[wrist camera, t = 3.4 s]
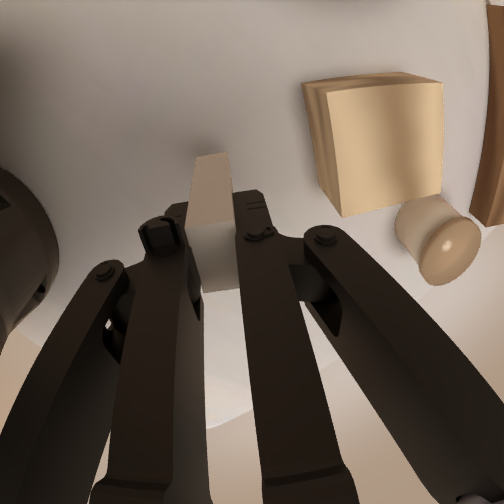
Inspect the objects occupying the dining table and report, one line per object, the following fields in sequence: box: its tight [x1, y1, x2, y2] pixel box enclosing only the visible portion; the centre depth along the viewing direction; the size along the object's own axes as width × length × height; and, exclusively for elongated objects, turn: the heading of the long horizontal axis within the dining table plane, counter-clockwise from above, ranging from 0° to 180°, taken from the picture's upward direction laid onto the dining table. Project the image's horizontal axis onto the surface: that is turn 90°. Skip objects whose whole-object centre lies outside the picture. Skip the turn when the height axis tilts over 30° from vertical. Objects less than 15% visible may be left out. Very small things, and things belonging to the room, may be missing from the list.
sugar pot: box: [395, 194, 481, 286], centre depth 23 cm, size 7×7×6 cm
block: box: [301, 72, 444, 218], centre depth 18 cm, size 8×8×5 cm
